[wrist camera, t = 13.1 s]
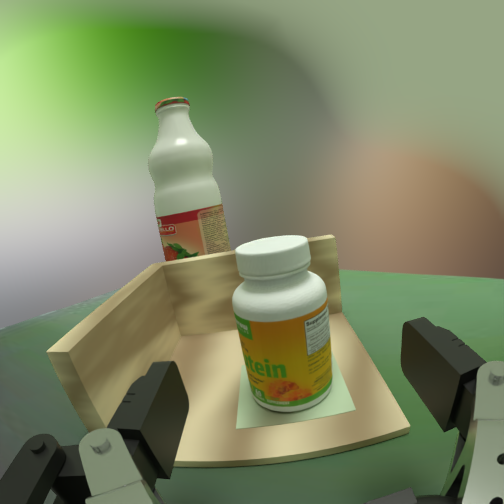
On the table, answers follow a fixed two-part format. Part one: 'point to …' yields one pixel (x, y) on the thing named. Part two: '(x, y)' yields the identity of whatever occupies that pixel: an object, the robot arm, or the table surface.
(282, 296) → the supplement bottle
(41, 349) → the table surface
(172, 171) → the fruit juice
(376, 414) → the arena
